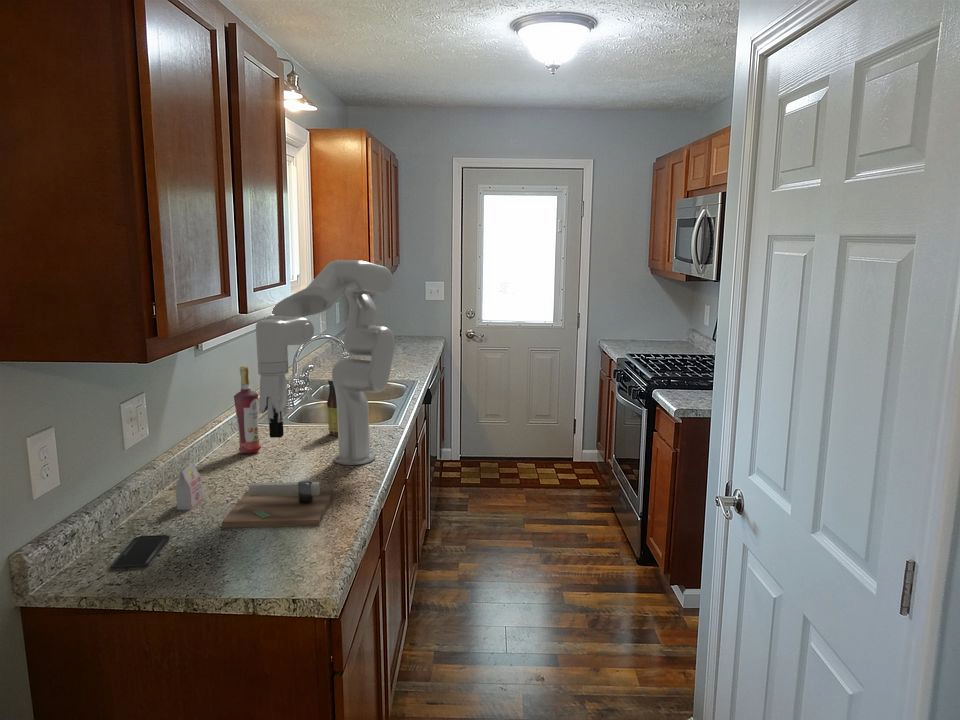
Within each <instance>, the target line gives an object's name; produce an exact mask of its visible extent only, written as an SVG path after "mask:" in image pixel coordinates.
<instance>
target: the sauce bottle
mask: <svg viewBox="0 0 960 720" xmlns="http://www.w3.org/2000/svg"><path fill="white" fill-rule="evenodd" d="M328 388H329V389H328V390H329V393H328V397H327V401H326V409H327V423H328V424H327V425H328V431H329V434H330V435H331V436H335V437H338V419H337V400H336V392H335V388H334V384H333V380H332V378H329V379H328Z"/></svg>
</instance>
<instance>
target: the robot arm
mask: <svg viewBox="0 0 960 720" xmlns="http://www.w3.org/2000/svg"><path fill="white" fill-rule="evenodd" d="M393 286H394V276H393V273H392V272H391V271H390V269H389V268H388V267H386V266H383V265H379V264H375V263H372V262H368V261H364V260H359V259H357V260H355V259H337V260H332V261H330V262H328V263H327V264H326V265H325V266H324V267H323V269H321V271H320V272H319V273H318V274H317V275H316V276H315V278H314V279H313V280H312V281H311V282H310V283H309V284H308V286H306V287H305V288H302V289H301V290H299V291H297V292H295V293H293V294H292V295H289V296H287V297H285V298H284V299H282V300H280V301H279V302H277V303H276V304H275V305H274V306H275V307H274V306H273V307H274V308H273V307H272V308H273V311H272V314H271V315H270V317H268V318H266V319H264V318H263V319H264V320H263V319H261V320H259V321H257V322H256V323H255V340H256V341H255V342H256V354H257V355H256V359H257V373H258V375H259V376H260V378H259V412H260V413H261V414H265V413H266V412H267V419H268V430H269V432H268V433H269V438H271V439H274V438H275V439H277V438H278V439H279V438H282V437H284V421H283V420H284V419H283V417H284V408H286V407H287V405H288V390H287V389H288V388H287V376H286V375H287V374H289V354H288V352H289V351H288V349H289V348H288V346H303V345H305V344H307V343H309V342H310V341H311V340H312V338H313V336H314V334H315V328H314V325H313V322H311V321H310V319H308V318H306V317H309V316H315V315H317V314H320V313H324V312H326V311H328V310H330V308H332V306H333V305H334V304H335V303H336V301H337V300H338V299H339V298H340V296H341V295H342V294H343V292H344V294H345V296H346V299H347V301H348V307H349V311H348V318H347V321H346V322H347V323H346V327H345V328H346V329H345V333H344V338H343V348H344V351H345V352H346V353H348V355H352V356H357V357H359V356H361V357H370V358H371V359H370V360H366V359H355V358H344V359H341V360H338V361H337V362H336V363H335V364H334V365H333V368H332V370H331V379H332V380H333V384H334V388H335V392H336V400H337V419H338V436H337V437H338V439H337V440H338V453H336V454H335V455H334V456H333V459H334V462H335V463H337V464H339V465H343V466H357V465H358V466H359V465H364V464H365V465H366V464H368V463H370V462H373V461H374V460H375V458H376V453H375V452H374V451H372V450H371V444H370V442H371V441H370V438H371V437H370V417H369V416H370V415H369V410H370V409H369V401H368V398H367V397H366V394H365V393H381V392H382V391H384V390H385V389H386V387H387V385H388V383H389V380H390V374H391V369H392V365H393V358H394V353H395V345H396V343H395V341H396V339H395V336H394V332H393V331H392V330H391V328H389V327H386V326H382V325H376V323H377V316H378V310H377V306H376V305H375V302H374V301H373V299H372V297H371V295H372V296H374V295H375V296H384V295H386V294H388V293H390V291H391V290H392V289H393Z"/></svg>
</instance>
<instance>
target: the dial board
mask: <svg viewBox="0 0 960 720" xmlns="http://www.w3.org/2000/svg"><path fill="white" fill-rule="evenodd" d="M246 490H247V491H245V492H244V494H243V495H242V497H241V498H240V499H239V500H238V501H237V503H236V504H235V505H234V506H233V508H232V509H231V510H230V511H229V512H228V513H227V515H226V516H225V517H224V519H223V520H222V521H221V526H222V527H221V528H223V529H224V528H226V529H227V528H228V529H229V528H230V529H231V528H232V529H233V528H268V527H269V528H273V527H277V528H279V527H311V526H316V527H317V526H320V525H321V523H322V521H323V518H324V516H325V514H326V512H327V510H328V508H329V505H330V503H331V501H332V499H333V497H334V496H335V495H334V494H335V487H320V494H319V495H313V501H311V502H309V503H300V502H299V498H298V496H262V497H249V489H246Z"/></svg>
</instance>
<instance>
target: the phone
mask: <svg viewBox="0 0 960 720" xmlns="http://www.w3.org/2000/svg"><path fill="white" fill-rule="evenodd" d="M169 539H170V540H171V537H170V535H169V534H159V535H158V534H157V535H156V534H155V535H139V536H136V537H133V539H132V540H131V541H130V542H129V543H128V545H127V546H126V547H125V548H124V549H123V550H122V551H121V552H120V553H119V554H118V556H117V557H116V558H115V559H114V560H113V562H112V563H111V564H110V570H111V571H126V570H142V569H147V568H149V567H150V566H151V565H152V563H153V562H154V561H155V560H154V559H156V558H157V557H158V556H159V554H160V553H161V551H162V550H163V549H164V548H165V546H166V545H167V544H168V542H169V541H170V540H169ZM166 543H167V544H166ZM163 547H164V548H163ZM157 555H158V556H157Z"/></svg>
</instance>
